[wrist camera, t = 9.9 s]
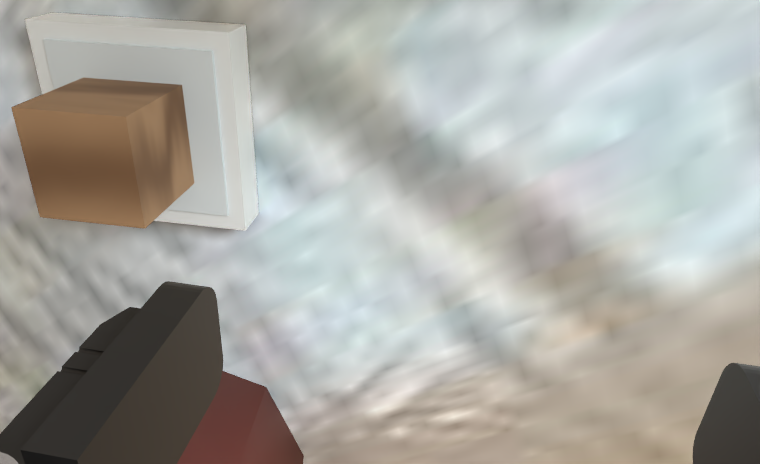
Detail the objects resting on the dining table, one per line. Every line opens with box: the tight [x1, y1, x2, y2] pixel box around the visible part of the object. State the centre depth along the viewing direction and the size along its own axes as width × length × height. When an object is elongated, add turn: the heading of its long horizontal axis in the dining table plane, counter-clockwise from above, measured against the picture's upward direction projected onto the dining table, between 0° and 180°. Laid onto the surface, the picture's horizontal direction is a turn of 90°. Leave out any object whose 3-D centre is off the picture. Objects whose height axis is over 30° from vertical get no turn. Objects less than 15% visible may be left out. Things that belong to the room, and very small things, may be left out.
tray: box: [25, 12, 259, 231], centre depth 37 cm, size 12×12×3 cm
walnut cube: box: [11, 78, 194, 228], centre depth 34 cm, size 6×6×6 cm
